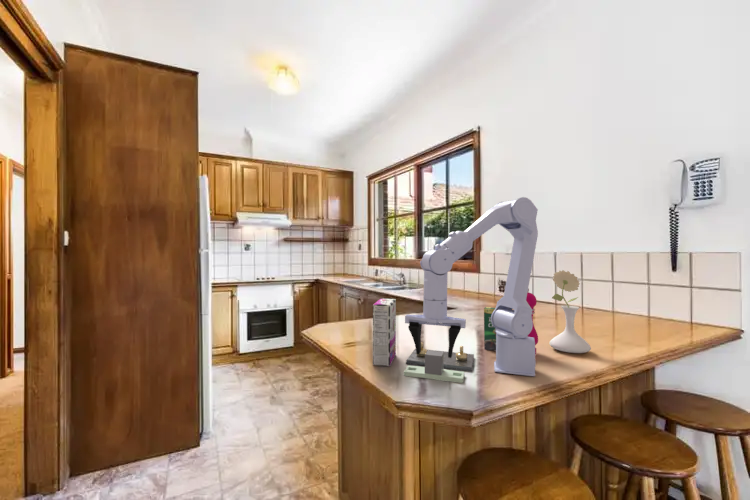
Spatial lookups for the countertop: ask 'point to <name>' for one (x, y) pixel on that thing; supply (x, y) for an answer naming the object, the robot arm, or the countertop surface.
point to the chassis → (445, 359)
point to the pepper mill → (532, 302)
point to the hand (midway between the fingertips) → (434, 354)
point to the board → (437, 377)
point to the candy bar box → (384, 332)
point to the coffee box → (489, 330)
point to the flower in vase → (568, 317)
